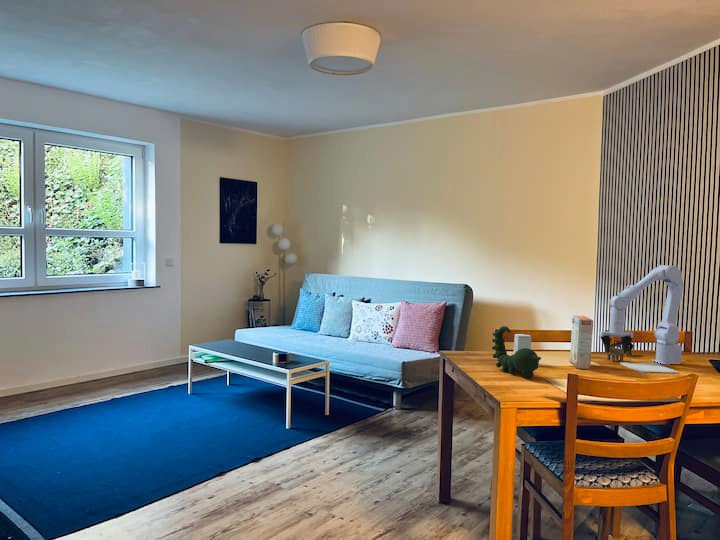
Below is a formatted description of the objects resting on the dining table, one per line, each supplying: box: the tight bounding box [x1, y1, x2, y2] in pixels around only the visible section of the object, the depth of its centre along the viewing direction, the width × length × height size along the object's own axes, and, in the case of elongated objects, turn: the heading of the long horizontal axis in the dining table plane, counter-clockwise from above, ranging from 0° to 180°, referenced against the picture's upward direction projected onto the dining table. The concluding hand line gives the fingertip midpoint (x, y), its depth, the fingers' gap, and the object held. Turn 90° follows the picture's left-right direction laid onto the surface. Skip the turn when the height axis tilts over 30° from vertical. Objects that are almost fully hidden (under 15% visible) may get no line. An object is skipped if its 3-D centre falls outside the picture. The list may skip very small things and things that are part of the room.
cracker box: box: [569, 315, 594, 370], centre depth 224 cm, size 14×6×21 cm, turn 168°
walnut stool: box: [606, 347, 625, 363], centre depth 237 cm, size 5×5×6 cm
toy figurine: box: [491, 325, 542, 379], centre depth 205 cm, size 9×19×25 cm
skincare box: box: [512, 333, 532, 355], centre depth 227 cm, size 6×4×12 cm
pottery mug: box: [610, 339, 634, 357], centre depth 254 cm, size 12×10×8 cm
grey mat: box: [619, 361, 680, 374], centre depth 224 cm, size 16×16×1 cm
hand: (615, 352), depth 237 cm, fingers open, 7 cm apart
